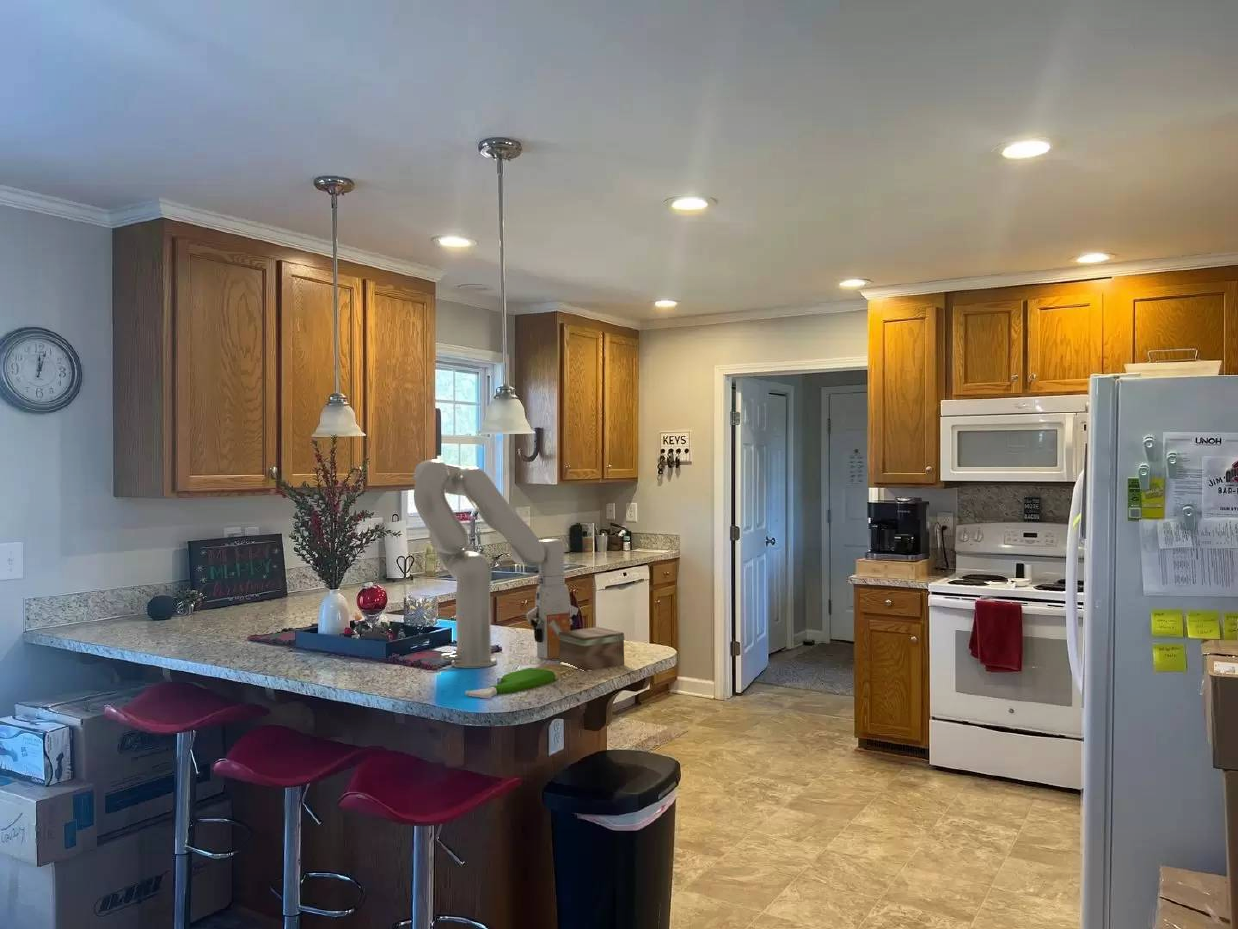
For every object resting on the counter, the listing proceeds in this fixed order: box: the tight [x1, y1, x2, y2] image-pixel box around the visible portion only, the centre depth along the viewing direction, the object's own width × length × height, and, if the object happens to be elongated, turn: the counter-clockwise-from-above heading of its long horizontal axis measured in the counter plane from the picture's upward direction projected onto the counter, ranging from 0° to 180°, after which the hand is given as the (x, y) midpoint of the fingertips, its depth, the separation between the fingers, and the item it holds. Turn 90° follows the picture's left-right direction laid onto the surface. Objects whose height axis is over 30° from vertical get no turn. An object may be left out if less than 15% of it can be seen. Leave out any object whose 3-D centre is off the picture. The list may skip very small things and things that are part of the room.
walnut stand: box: [558, 626, 625, 672], centre depth 252 cm, size 13×13×9 cm
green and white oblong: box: [464, 667, 556, 700], centre depth 225 cm, size 3×11×24 cm
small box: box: [536, 612, 570, 660], centre depth 265 cm, size 8×6×13 cm
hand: (553, 639), depth 265 cm, fingers open, 9 cm apart
